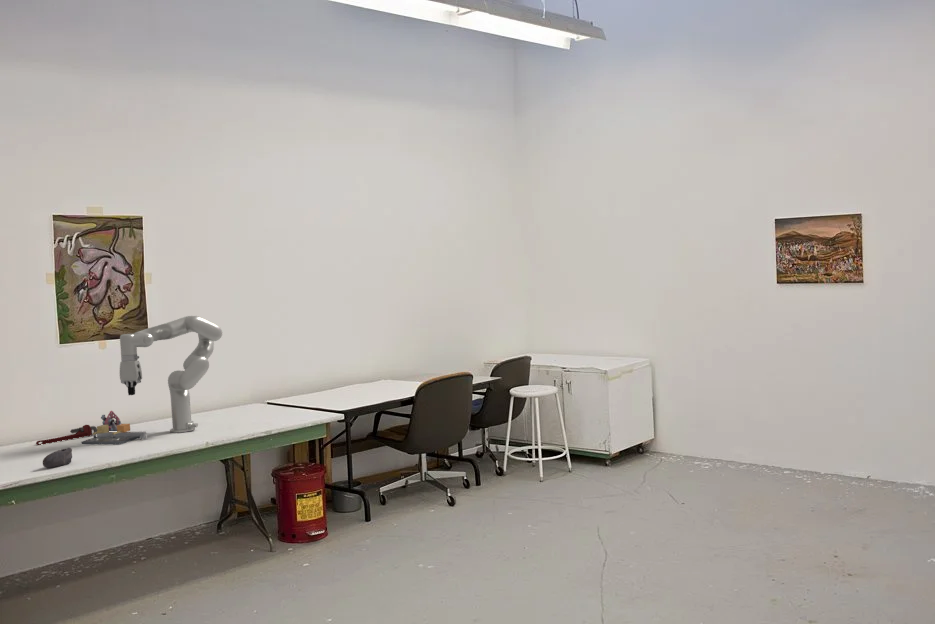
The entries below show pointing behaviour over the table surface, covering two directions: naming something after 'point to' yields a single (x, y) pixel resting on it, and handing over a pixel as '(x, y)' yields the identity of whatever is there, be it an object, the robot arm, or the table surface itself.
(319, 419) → the table surface
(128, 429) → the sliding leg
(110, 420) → the red grey carburetor
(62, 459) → the perforated stone tool
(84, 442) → the bolt plate
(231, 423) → the table surface
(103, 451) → the table surface
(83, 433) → the pipe wrench
